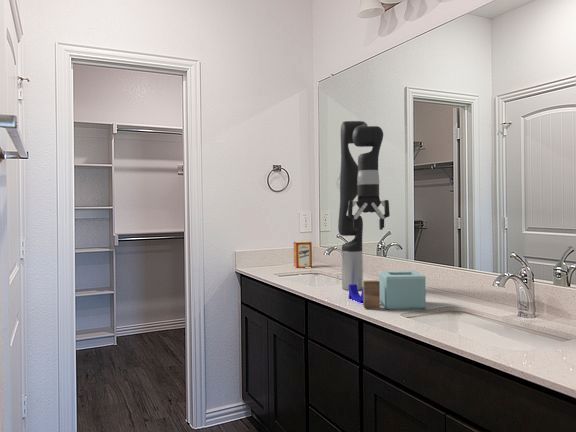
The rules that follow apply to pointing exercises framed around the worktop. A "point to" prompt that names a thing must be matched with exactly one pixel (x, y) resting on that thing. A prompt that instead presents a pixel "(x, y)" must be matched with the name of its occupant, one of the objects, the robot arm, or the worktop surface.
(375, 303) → the brown wooden block
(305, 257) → the baking soda box
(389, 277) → the box
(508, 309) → the worktop surface
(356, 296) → the cable clip
